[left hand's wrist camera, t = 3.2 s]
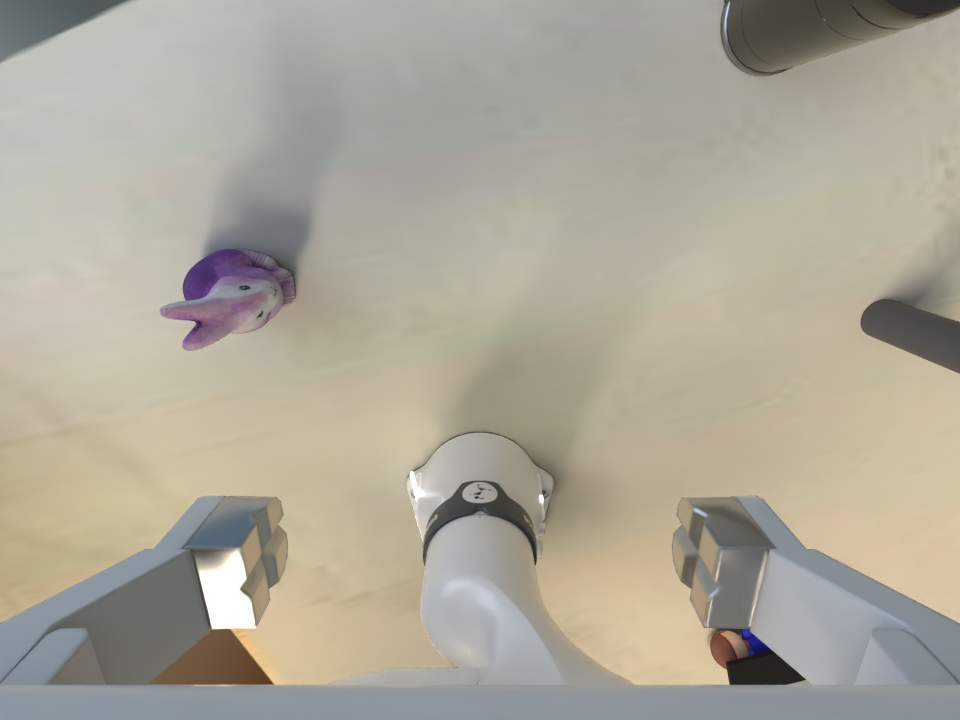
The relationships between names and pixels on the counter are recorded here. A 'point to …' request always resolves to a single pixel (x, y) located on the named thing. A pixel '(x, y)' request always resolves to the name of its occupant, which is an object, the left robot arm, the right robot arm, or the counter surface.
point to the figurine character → (750, 660)
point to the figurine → (230, 295)
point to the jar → (915, 332)
